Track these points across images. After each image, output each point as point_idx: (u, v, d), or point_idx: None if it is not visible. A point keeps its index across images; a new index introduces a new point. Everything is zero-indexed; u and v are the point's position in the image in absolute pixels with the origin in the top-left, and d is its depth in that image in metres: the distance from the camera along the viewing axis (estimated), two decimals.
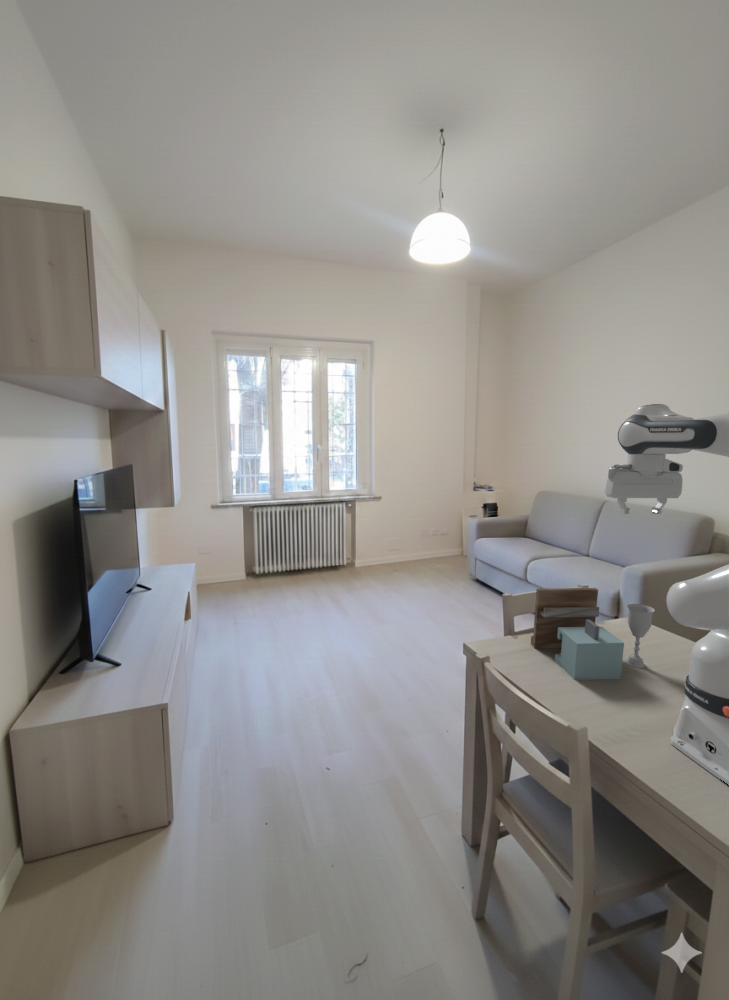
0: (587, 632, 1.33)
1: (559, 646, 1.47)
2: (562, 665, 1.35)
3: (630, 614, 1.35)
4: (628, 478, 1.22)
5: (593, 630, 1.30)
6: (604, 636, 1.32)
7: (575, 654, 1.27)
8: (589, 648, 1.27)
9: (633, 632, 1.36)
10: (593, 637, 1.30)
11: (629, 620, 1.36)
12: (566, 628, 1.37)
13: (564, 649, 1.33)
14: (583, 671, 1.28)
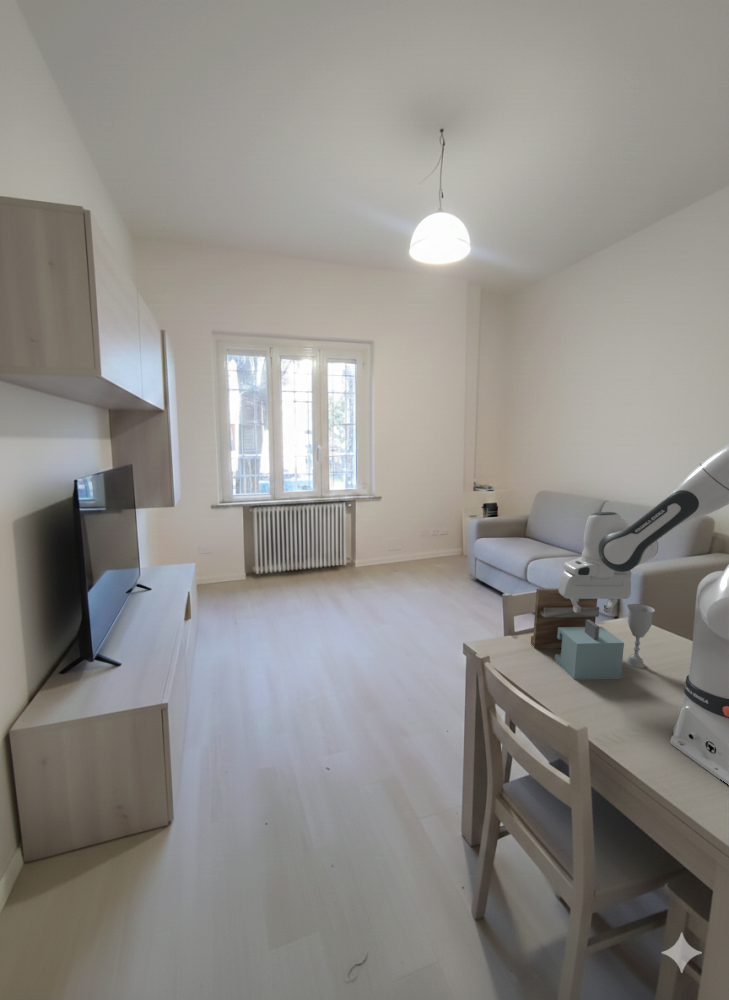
0: (587, 632, 1.33)
1: (559, 646, 1.47)
2: (562, 665, 1.35)
3: (630, 614, 1.35)
4: None
5: (593, 630, 1.30)
6: (604, 636, 1.32)
7: (575, 654, 1.27)
8: (589, 648, 1.27)
9: (633, 632, 1.36)
10: (593, 637, 1.30)
11: (629, 620, 1.36)
12: (566, 628, 1.37)
13: (564, 649, 1.33)
14: (583, 671, 1.28)
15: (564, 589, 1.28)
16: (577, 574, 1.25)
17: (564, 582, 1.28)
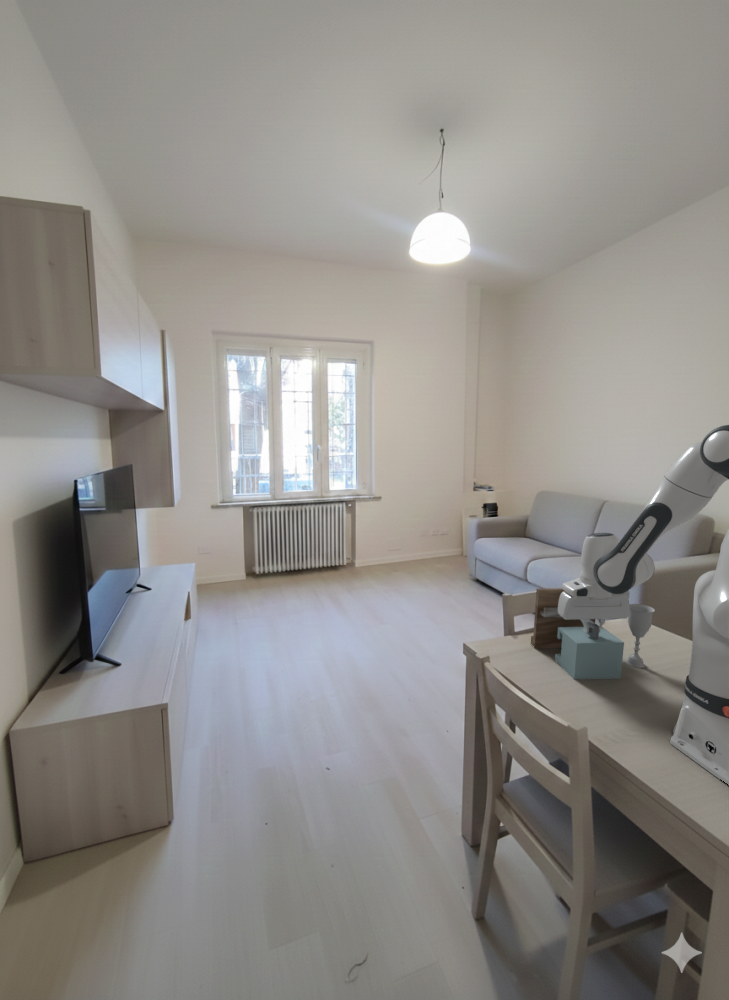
0: None
1: (559, 646, 1.47)
2: (562, 665, 1.35)
3: (630, 614, 1.35)
4: None
5: (593, 630, 1.30)
6: (604, 636, 1.32)
7: (575, 654, 1.27)
8: (589, 647, 1.27)
9: (633, 632, 1.36)
10: (593, 637, 1.30)
11: (629, 620, 1.36)
12: (566, 628, 1.37)
13: (564, 649, 1.33)
14: (583, 670, 1.28)
15: (563, 610, 1.29)
16: (575, 595, 1.26)
17: (563, 603, 1.29)
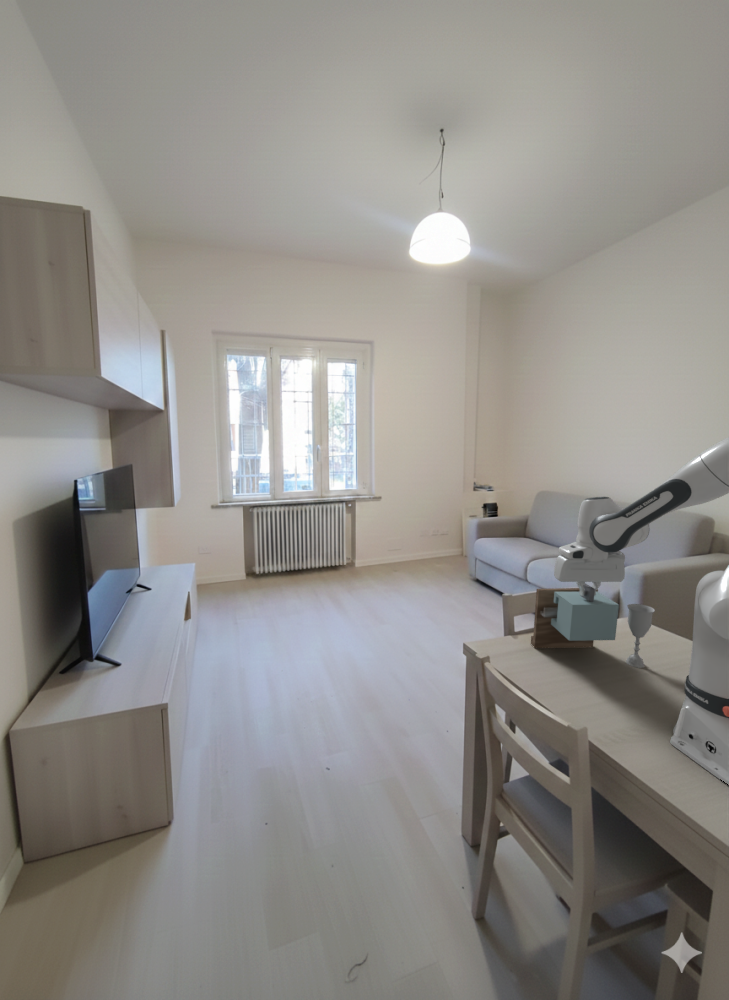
0: None
1: (559, 646, 1.47)
2: (558, 628, 1.37)
3: (630, 614, 1.35)
4: None
5: (589, 592, 1.32)
6: (599, 599, 1.34)
7: (570, 615, 1.30)
8: (584, 609, 1.29)
9: (633, 632, 1.36)
10: (588, 599, 1.32)
11: (629, 620, 1.36)
12: (562, 592, 1.39)
13: (560, 612, 1.36)
14: (578, 632, 1.30)
15: (559, 572, 1.31)
16: (572, 557, 1.28)
17: (559, 566, 1.31)
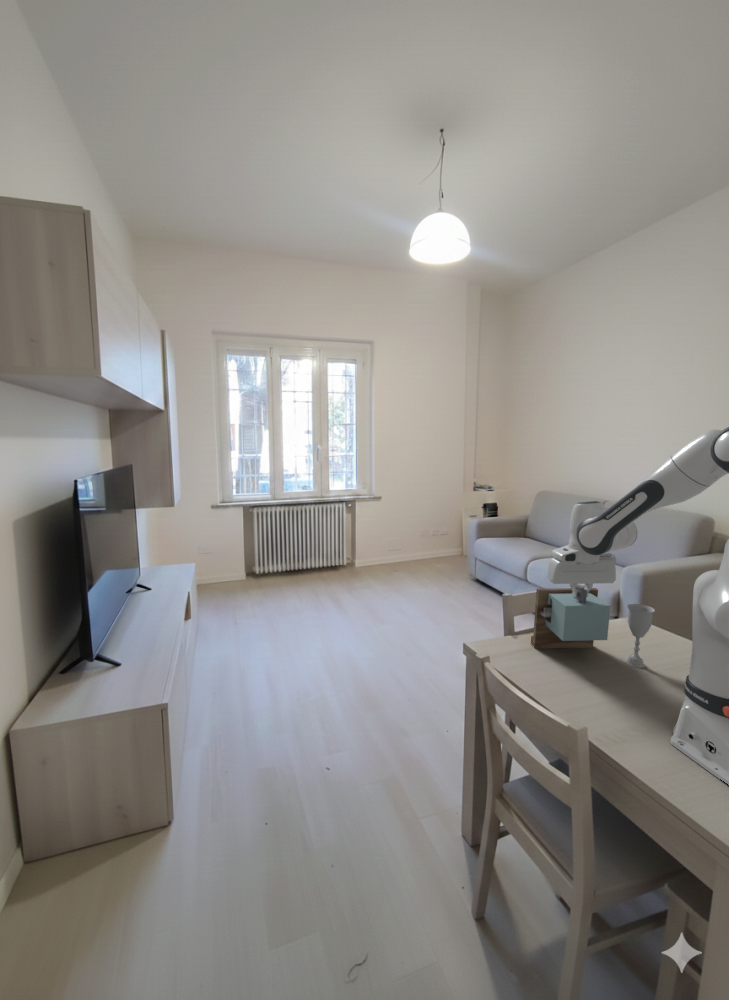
0: (576, 597, 1.39)
1: (559, 646, 1.47)
2: (552, 629, 1.41)
3: (630, 614, 1.35)
4: None
5: (581, 594, 1.36)
6: (591, 600, 1.38)
7: (563, 616, 1.34)
8: (577, 610, 1.33)
9: (633, 632, 1.36)
10: (581, 601, 1.36)
11: (629, 620, 1.36)
12: (556, 594, 1.43)
13: (554, 613, 1.40)
14: (571, 632, 1.34)
15: (552, 574, 1.35)
16: (564, 560, 1.33)
17: (552, 569, 1.35)
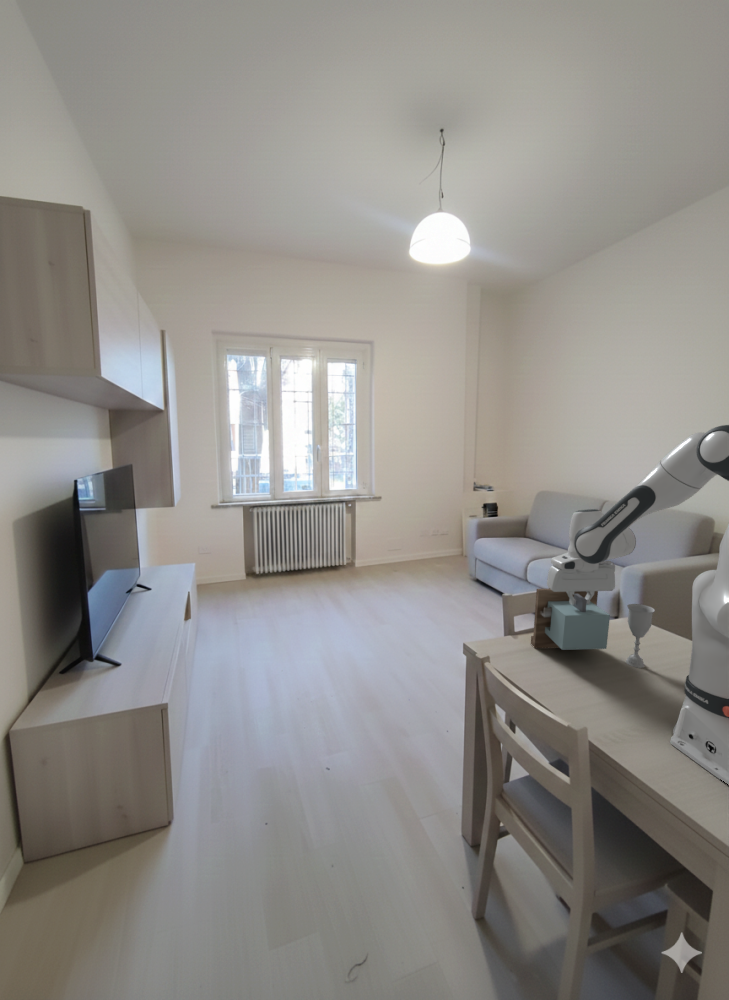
0: (575, 605, 1.39)
1: None
2: (551, 637, 1.41)
3: (630, 614, 1.35)
4: None
5: (581, 603, 1.36)
6: (591, 609, 1.38)
7: (563, 625, 1.34)
8: (576, 619, 1.34)
9: (633, 632, 1.36)
10: (581, 610, 1.36)
11: (629, 620, 1.36)
12: (556, 602, 1.43)
13: (554, 621, 1.40)
14: (570, 641, 1.35)
15: (551, 582, 1.35)
16: (563, 568, 1.33)
17: (552, 576, 1.36)
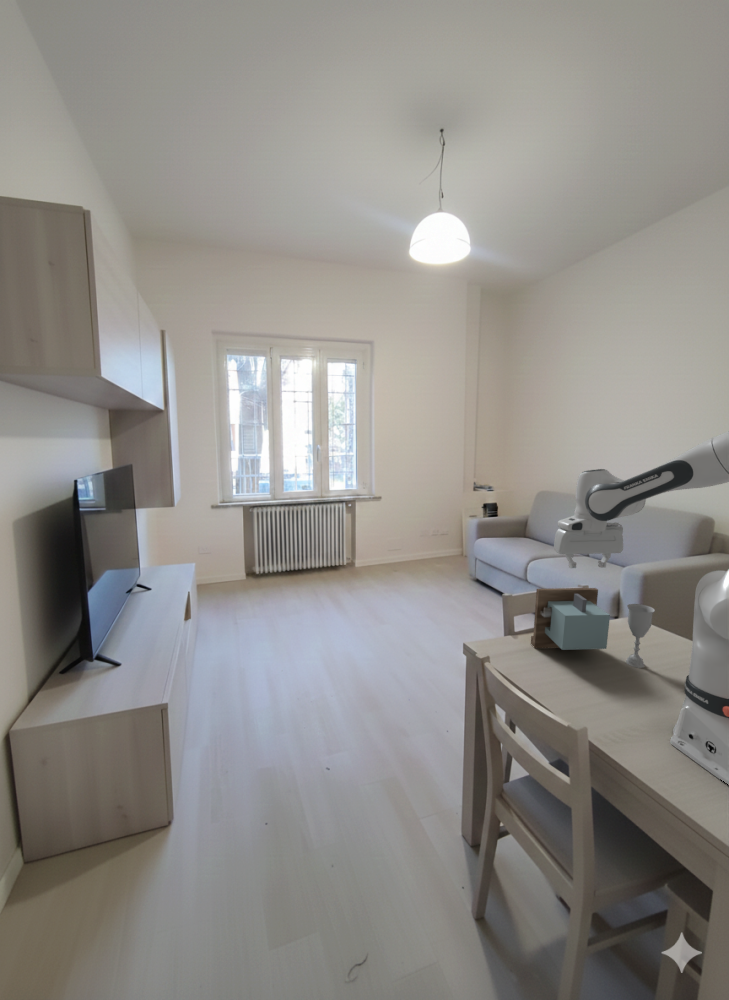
0: (575, 605, 1.39)
1: None
2: (551, 637, 1.41)
3: (630, 614, 1.35)
4: None
5: (581, 603, 1.36)
6: (591, 609, 1.38)
7: (563, 625, 1.34)
8: (576, 619, 1.34)
9: (633, 632, 1.36)
10: (581, 610, 1.36)
11: (629, 620, 1.36)
12: (556, 602, 1.43)
13: (554, 621, 1.40)
14: (570, 641, 1.35)
15: (559, 545, 1.33)
16: (571, 529, 1.30)
17: (559, 539, 1.33)
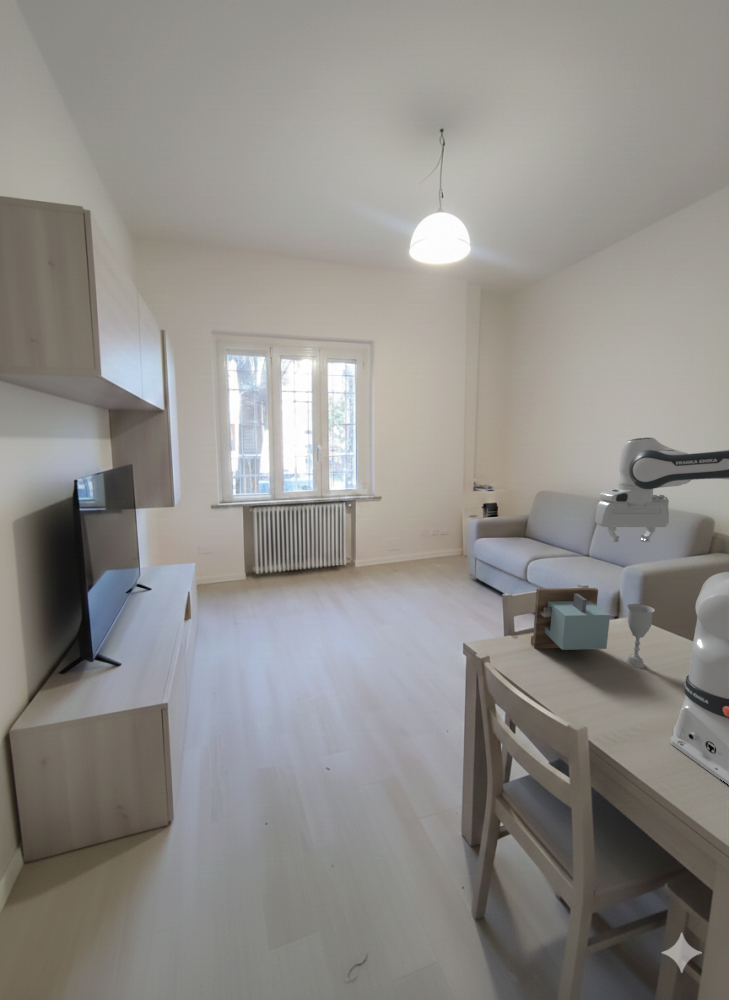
0: (575, 605, 1.39)
1: None
2: (551, 637, 1.41)
3: (630, 614, 1.35)
4: None
5: (581, 603, 1.36)
6: (591, 609, 1.38)
7: (563, 625, 1.34)
8: (576, 619, 1.34)
9: (633, 632, 1.36)
10: (581, 610, 1.36)
11: (629, 620, 1.36)
12: (556, 602, 1.43)
13: (554, 621, 1.40)
14: (570, 641, 1.35)
15: (601, 517, 1.27)
16: (615, 501, 1.24)
17: (601, 511, 1.27)
